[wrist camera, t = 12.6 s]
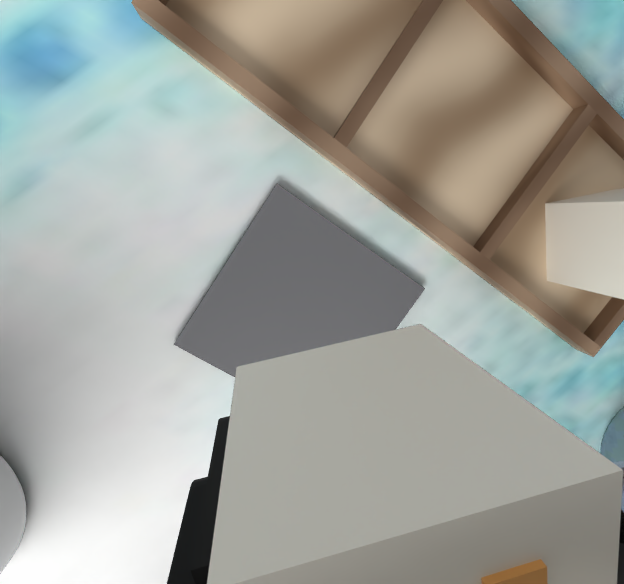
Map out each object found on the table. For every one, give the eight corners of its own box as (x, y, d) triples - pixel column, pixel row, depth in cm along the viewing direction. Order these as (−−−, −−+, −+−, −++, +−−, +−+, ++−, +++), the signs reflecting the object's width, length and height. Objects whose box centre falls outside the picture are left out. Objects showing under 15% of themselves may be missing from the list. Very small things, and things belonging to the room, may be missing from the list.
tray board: (685, 211, 24) (710, 211, 23) (575, 349, 25) (593, 357, 24) (271, -214, 16) (272, -253, 15) (141, 18, 17) (131, 2, 16)
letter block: (236, 366, 9) (204, 601, 4) (424, 323, 10) (638, 474, 4) (277, 519, 10) (296, 861, 5) (440, 474, 11) (620, 739, 5)
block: (545, 203, 22) (636, 201, 17) (617, 188, 22) (727, 181, 17) (546, 280, 23) (631, 301, 18) (614, 265, 24) (717, 281, 18)
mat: (422, 287, 22) (424, 288, 22) (324, 422, 24) (325, 426, 23) (276, 183, 20) (276, 183, 19) (175, 341, 21) (173, 344, 21)
